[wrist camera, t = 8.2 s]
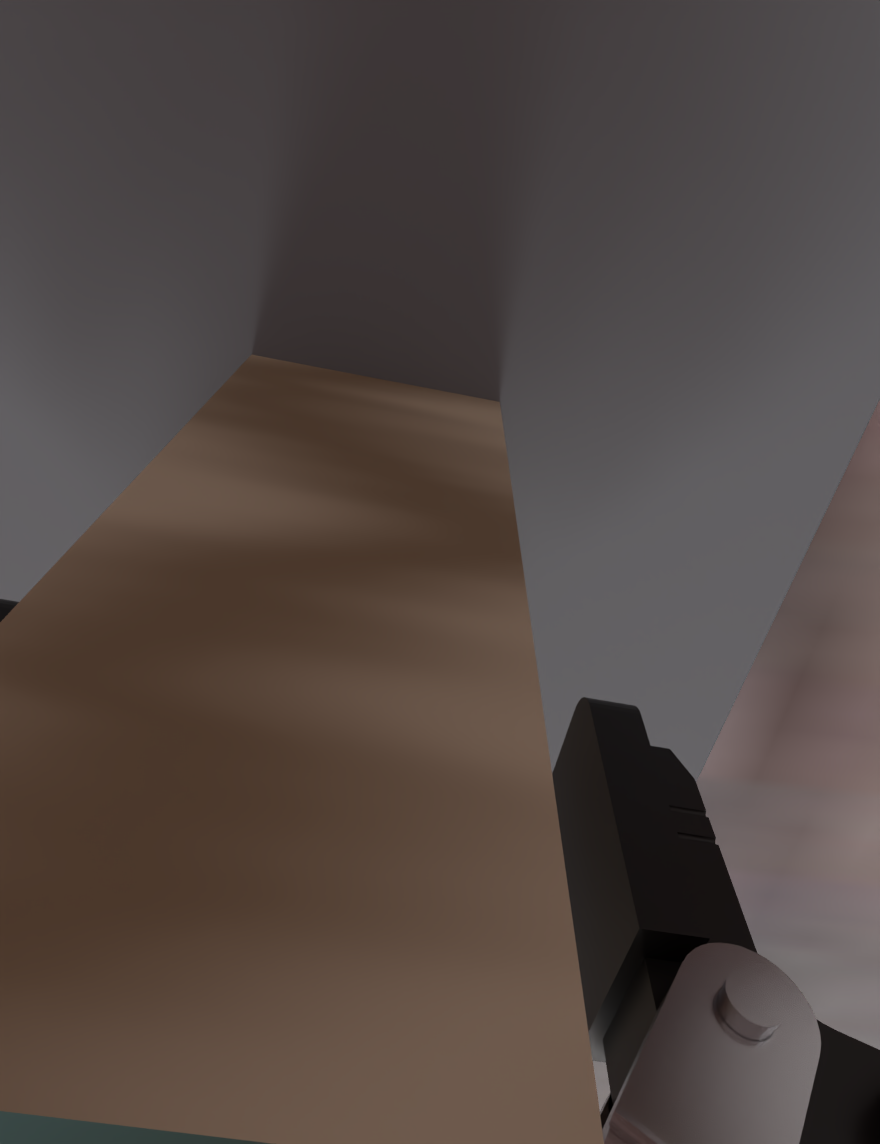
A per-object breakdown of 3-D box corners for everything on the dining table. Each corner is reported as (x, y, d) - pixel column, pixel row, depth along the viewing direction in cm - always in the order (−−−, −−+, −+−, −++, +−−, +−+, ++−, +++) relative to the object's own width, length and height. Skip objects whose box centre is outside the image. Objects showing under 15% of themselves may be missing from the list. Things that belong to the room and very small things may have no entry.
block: (500, 401, 13) (624, 1276, 3) (424, 728, 16) (368, 1626, 6) (251, 354, 12) (-495, 1153, 3) (229, 698, 16) (-136, 1587, 6)
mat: (1165, -307, 9) (1239, -352, 8) (573, 992, 22) (577, 1028, 21) (-897, -873, 8) (-1071, -1000, 7) (-245, 879, 20) (-276, 913, 19)
